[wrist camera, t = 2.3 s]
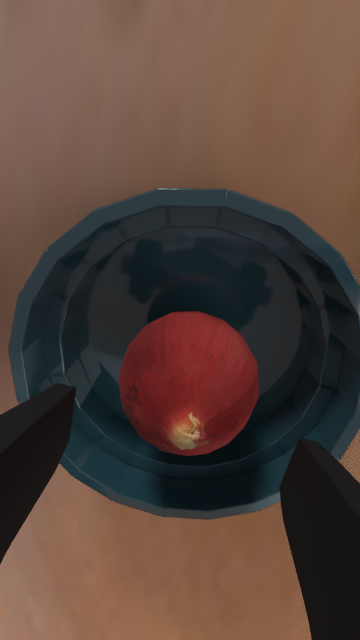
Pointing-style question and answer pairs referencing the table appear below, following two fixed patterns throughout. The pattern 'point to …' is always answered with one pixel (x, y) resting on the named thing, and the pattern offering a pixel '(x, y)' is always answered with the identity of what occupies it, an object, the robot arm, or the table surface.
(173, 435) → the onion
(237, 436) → the bowl
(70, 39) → the table surface
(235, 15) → the table surface
